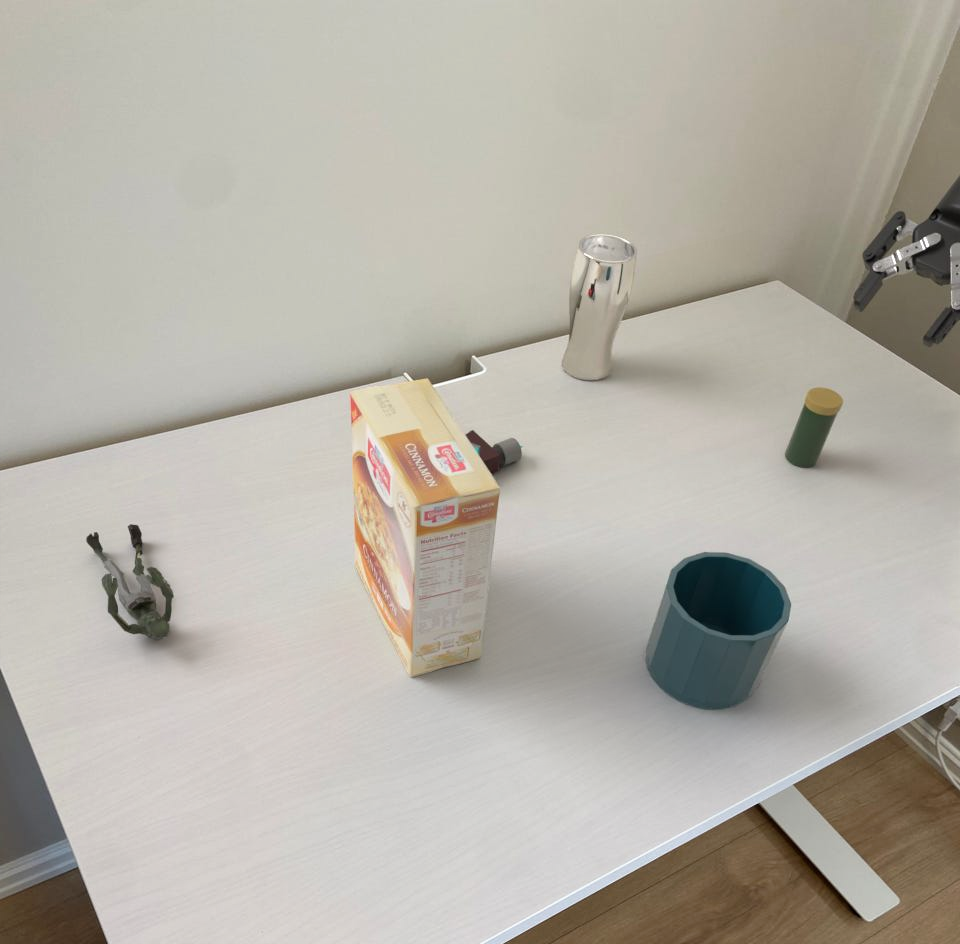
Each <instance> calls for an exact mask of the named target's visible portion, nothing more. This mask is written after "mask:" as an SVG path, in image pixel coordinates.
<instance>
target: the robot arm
mask: <svg viewBox="0 0 960 944" xmlns="http://www.w3.org/2000/svg"><path fill="white" fill-rule="evenodd" d="M907 237H911V244H907V245H906V246H904V247H902V248H899V249H896V250H895V251H894V253H892V254H891V255H888V256H886V255H887V253H888V252H889V251H890V250H891V249H892V247H894V246H895V244H896V243H897V242H901V241H903V240H904V239H905V238H907ZM861 256H862V260H863V264H864V268H865V269H866V270H867V271H868V274H867V275H866V277H865V278H863V280H862V282H861V283H860V285H859V286H858V288H856V290H855V291H854V294H853V306H854V310H856V311H858V312H859V313H863V312H864V311H865V309H866V308H867V307H868V305H869V304H870V303H871V301H872V300H873V298H875V296H876V294H877V293H878V292H879V290H880V289H881V288H882V287H883V285H884V284H883V282H884V281H886V280H889V279H891V278H893V277H896V276H904V275H907V274H909V273H911V272H913V271H914V272H915V274H916V275H917V276H919V277H921V278H924V279H930V280H932V281H933V282H934V284H936V285H938V286H941V287H943V286H949V285H950V296H951V297H950V298H951V299H950V301H951V303H950V306H949V307H947V306H945V308H944V309H943V310H942V312H941V313H940V314H939V316H938V317H937V318H936V319H935V320H934V322H933V323H932V324H931V326H929V328H928V329H927V331H926V332H925V334H924V335H923V336H922V337H923V338H922V342H923V343H922V344H923V345H924V346H926V347H928V348H931V347H932V346H933V345H934V344H935V345H939V344H941V343H942V342H943V341H944V340H945V338H946V337H947V336H948V335H949V333H951V331H952V330H953V328H954V327H955V326H956V325H957V323H958V322H959V321H960V174H959V175H958V176H957V178H956V179H955V181H954V182H953V183H952V185H950V187H949V188H948V190H947V191H946V193H945V194H944V196H942V198H941V199H940V201H939V202H938V203H937V205H936V206H935V207H934V209H933V210H932V212H931V213H930V215H929V216H928V218H926V219H925V220H924V221H923V222H920V223H916V222H914V221H912V220H910V219H908V218H907V216H906V213H905V212H904V211H902V210H898V211H896V212H895V213H893V215H892V217H891V218H890V219H889V220H888V221H887V222H886V224H885V225H884V226H883V227H882V228H881V230H880V231H879V232H878V234H877V235H876V236H875V237H874V238H873V240H871V242H870V243H869V244H868V246H867V247H866V248H865V249H864V251H863V252H862V255H861ZM885 256H886V257H885Z"/></svg>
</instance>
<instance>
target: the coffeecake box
mask: <svg viewBox="0 0 960 944" xmlns="http://www.w3.org/2000/svg"><path fill="white" fill-rule="evenodd" d="M349 398H350V420H351V421H350V422H351V448H352V449H351V452H352V453H351V454H352V455H351V456H352V485H353V487H352V488H353V517H354V518H353V519H354V521H353V522H354V553H355V555H354V556H355V561H354V566H355V569H356V570H357V573H358V575H359V577H360V579H361V581H362V583H363V586H364V587H365V589H366V592H367V594H368V596H369V597H370V600H371V602H372V604H373V605H374V608H375V610H376V612H377V614H378V616H379V618H380V620H381V622H382V624H383V626H384V628H385V630H386V632H387V633H388V634H387V635H388V636H389V638H390V640H391V642H392V644H393V646H394V648H395V650H396V652H397V654H398V656H399V659H400V660H401V662H402V664H403V666H404V668H405V669H406V672H407V674H408V676H409V677H410V678H413V677H417V676H421V675H425V674H429V673H431V672H435V671H437V670H440V669H442V668H446V667H451V666H455V665H460V664H464V663H468V662H471V661H474V660H475V661H476V660H479V659H480V658H481V657H482V649H483V639H484V631H485V622H486V611H487V605H488V604H487V603H488V596H489V587H490V580H491V579H490V578H491V571H492V570H491V569H492V561H493V551H494V544H495V535H496V527H497V518H498V517H497V516H498V509H499V501H500V495H501V494H500V493H501V486H500V485H499V484H498V482H497V481H496V479H495V477H494V476H493V473H490V471H489V470H488V468H487V467H486V465H485V464H484V462H483V461H482V459H481V458H480V456H479V455H478V453H477V452H476V450H475V449H474V447H473V446H472V444H471V443H470V441H469V440H468V438H467V437H466V435H465V434H466V433H465V432H464V431H463V429H462V428H461V426H460V425H459V423H458V421H457V420H456V418H455V417H454V415H453V414H452V413H451V411H450V409H449V407H448V406H447V405H446V404H445V402H444V401H443V399H442V397H441V395H440V394H439V393H438V391H437V390H436V388H435V387H434V385H433V384H432V382H431V381H430V379H429V378H427V377H426V378H421V379H416V380H415V379H414V380H409V381H404V382H399V383H394V384H387V385H381V386H380V385H374V386H368V387H362V388H358V389H355V390H351V391H349Z"/></svg>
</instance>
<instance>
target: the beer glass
mask: <svg viewBox="0 0 960 944" xmlns="http://www.w3.org/2000/svg"><path fill="white" fill-rule="evenodd" d="M577 245H578V246H577V251H576V254H575V257H574V262H573V267H572V272H571V277H570V283H569V284H570V285H569V296H568V306H569V307H568V308H569V311H568V313H569V314H568V315H569V335H568V342H567V345H566V349H565V351H564V354H563V357H562V359H561V367H562V369H563V370H564V372H566V373H567V375H569V376H571V377H573V378H576V379H578V380H582V381H599V380H603V379H605V378H606V377H608V376H609V375H610V373H611V371H612V363H613V362H612V361H613V360H612V359H613V358H612V357H613V356H612V355H613V354H612V353H613V346H614V341H615V338H616V336H617V332H618V330H619V328H620V325H621V322H622V320H623V318H624V315H625V312H626V310H627V307H628V304H629V302H630V297H631V294H632V289H633V284H634V278H635V271H636V264H637V262H636V261H637V256H638V249H637V247H636V246H635V244H634V243H632V242H631V241H630V240H628V239H626V238H624V237H621V236H618V235H614V234H609V233H595V234H594V233H593V234H589V235H586V236H584V237H582V238H581V239H580V240H579V241H578V244H577Z"/></svg>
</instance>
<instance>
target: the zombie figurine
mask: <svg viewBox="0 0 960 944" xmlns="http://www.w3.org/2000/svg"><path fill="white" fill-rule="evenodd" d="M127 529H128V532H129V536H130V542H131V545H132V547H133V548H134V549H135V556H134V567H133V569H132V570H131V571H132V573H133V574H134V575H135V579H136V582H137V583H138V585H139V587H140V592H139V591H138V592H135V593H132V592H131V590H130V588H129V585H128V584H127V582H126V579H125V573H124V572H123V571H122V570H120V568H119V566H118V565H116V563H115V562H114V561H113V560H111V558H109V557H107V556H106V555H104V553H103V550H104V548H103V546H102V545H101V542H100V534H99V533H98V532H97V531H94V532H93V533H89V534H88V535H87V536H86V539H85V542H86V544H87V545H88V546H89V547H90V548H91V549H92V551H93V553H94V554H96V555H98V557H99V558H100V560H101V562H102V564H103V566H104V568H105V570H107V571H108V572H109V573H105V574H104V575H103V576H102V578H101V585H102V588H103V589H104V591H105V593H106V594H107V596H108V597H107V613H108V614H109V615H110V616H111V617H112V618H113V620H114V621H115V622H116V623H117V624H118V625H119V627H120V628H121V629H122V630H123V631H124V632H126V633H129V634H131V635H143V636H147V637H148V638H152V639H154V640H155V641H156V640H158V641H159V640H162V639H164V638H168V635H169V633H170V630H171V627H170V622H171V619H172V612H173V609H172V607H173V605H172V603H173V598H175V596H174V591H173V589H172V588H171V584H170V583H168V581H167V580H166V579H165V577H164V576H163V574H162V572H161V571H160V570H159V569H158V568H156V567H153V566H149V567H147V568H146V571H147V572H148V574H145V571H144V570H145V565H143V560H142V558H141V556H142V555H143V553H144V550H143V545H144V543H143V539H142V535H143V534H142V531H141V529H140V527H139V525H138V524H132V523H130V524H129V525H127ZM152 586H154V587H157V588H159V589H160V592H161V594H162V596H163V597H164V599H165V605H164V607H165V608H164V614H163V615H161V614H160V613H159V612H158V611H157V606H158V605H157V598H156V595H155V591H154V589H153V587H152ZM116 592H118V593H116ZM116 594H117V595H118V600H119V602H120V604H121V605H122V607H123V608H124V609H125V611H126V612H127V613H128V614H129V616H131V617H132V618H133V619H135V620H136V621H137V622H138V624H137V623H131V624H129V623H127V621H126V620H125V619H124V618H123V617H122V616H121V615H120V614H119V605H118V601H117V599H116Z"/></svg>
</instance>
